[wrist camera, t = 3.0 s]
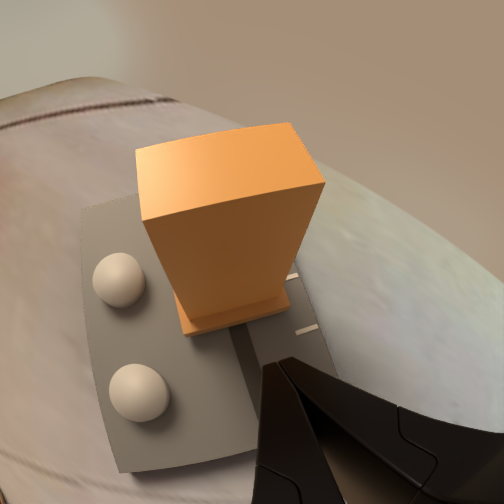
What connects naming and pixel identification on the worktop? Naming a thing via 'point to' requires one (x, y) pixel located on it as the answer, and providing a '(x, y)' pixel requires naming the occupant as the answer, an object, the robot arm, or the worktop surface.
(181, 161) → the fader tab
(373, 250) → the worktop surface
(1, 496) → the soda can
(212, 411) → the console board
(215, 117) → the worktop surface
